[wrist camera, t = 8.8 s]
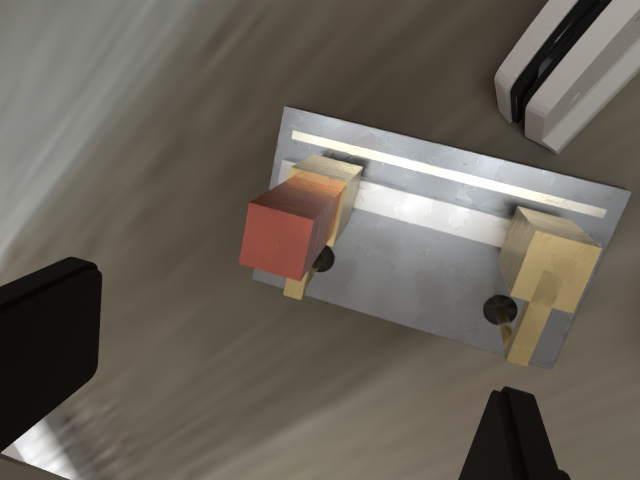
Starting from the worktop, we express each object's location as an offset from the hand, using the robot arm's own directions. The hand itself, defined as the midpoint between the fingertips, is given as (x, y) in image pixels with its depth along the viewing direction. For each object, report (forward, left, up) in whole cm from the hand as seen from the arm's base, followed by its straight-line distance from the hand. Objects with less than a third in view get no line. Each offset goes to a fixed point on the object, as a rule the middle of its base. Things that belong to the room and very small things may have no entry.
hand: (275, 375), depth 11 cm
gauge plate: (-3, -4, -27) cm, 27 cm away
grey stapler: (+13, -11, -27) cm, 32 cm away
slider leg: (-3, +3, -25) cm, 25 cm away
